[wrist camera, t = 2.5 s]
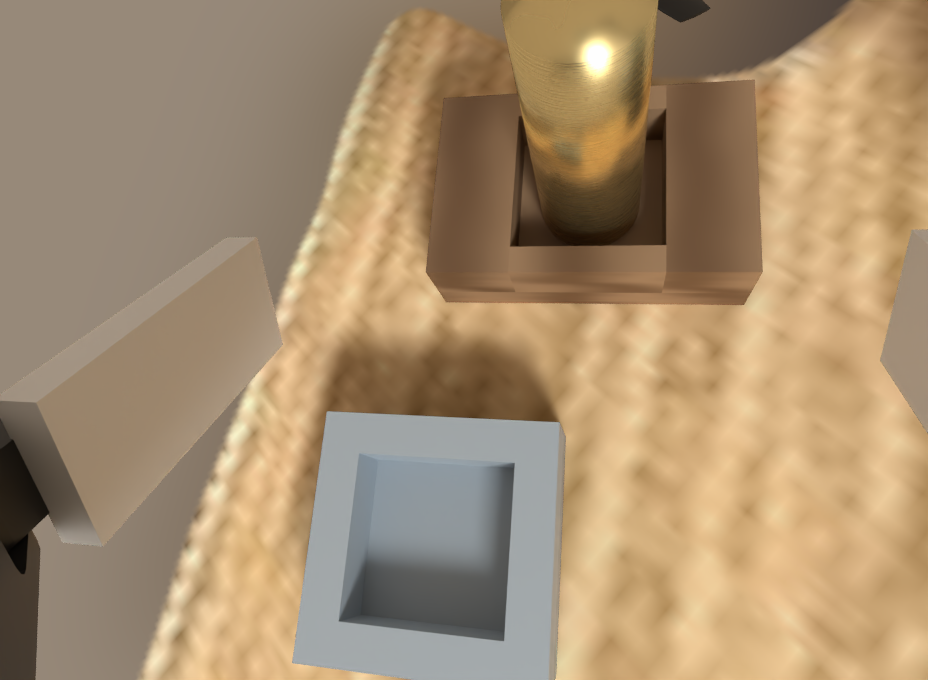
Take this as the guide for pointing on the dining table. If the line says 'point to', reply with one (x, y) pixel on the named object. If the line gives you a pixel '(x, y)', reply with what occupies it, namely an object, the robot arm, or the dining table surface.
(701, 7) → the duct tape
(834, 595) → the dining table surface
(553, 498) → the blue-grey square socket
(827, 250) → the dining table surface
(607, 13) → the axle
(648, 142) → the brown wooden holder
